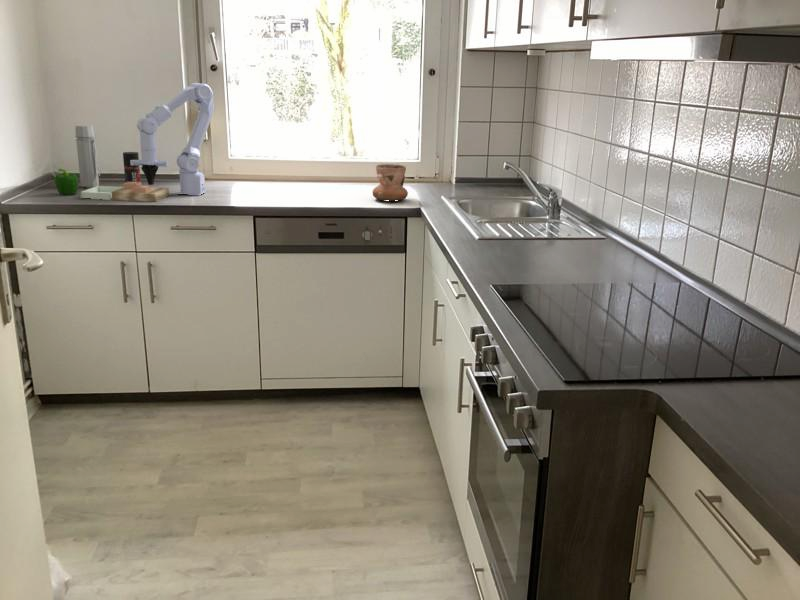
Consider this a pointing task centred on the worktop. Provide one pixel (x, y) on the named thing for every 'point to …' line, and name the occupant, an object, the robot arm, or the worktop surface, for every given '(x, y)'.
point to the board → (140, 194)
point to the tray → (99, 192)
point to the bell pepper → (66, 183)
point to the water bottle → (87, 156)
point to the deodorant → (131, 167)
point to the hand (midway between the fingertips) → (151, 184)
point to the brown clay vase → (390, 182)
